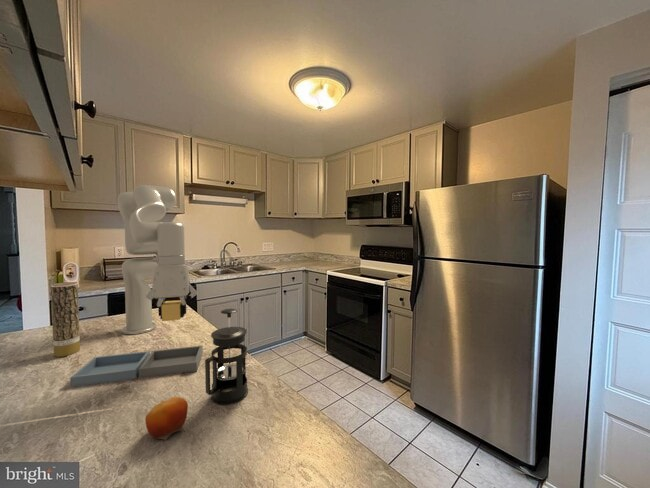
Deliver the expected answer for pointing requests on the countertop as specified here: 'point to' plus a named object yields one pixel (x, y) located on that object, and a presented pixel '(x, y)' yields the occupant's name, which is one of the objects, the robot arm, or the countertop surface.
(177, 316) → the ochre block
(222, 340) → the french press
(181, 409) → the fruit
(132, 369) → the slate-blue tray
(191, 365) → the charcoal tray
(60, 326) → the paper tube
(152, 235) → the robot arm
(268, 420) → the countertop surface
